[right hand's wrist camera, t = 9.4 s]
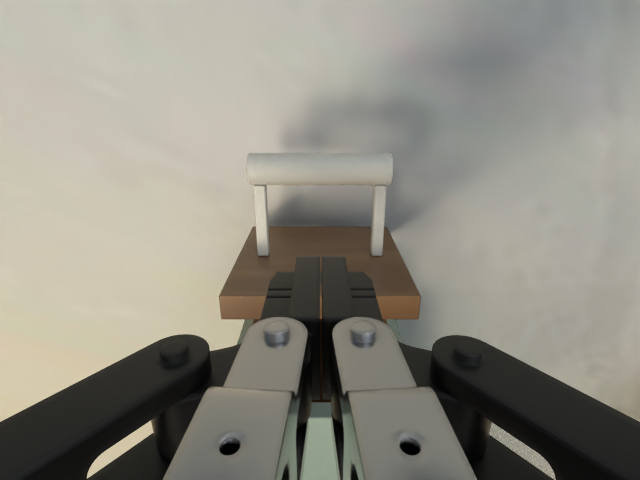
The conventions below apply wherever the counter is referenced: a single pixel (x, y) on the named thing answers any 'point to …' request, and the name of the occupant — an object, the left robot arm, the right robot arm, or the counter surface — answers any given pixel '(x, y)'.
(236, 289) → the drawer
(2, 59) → the counter surface
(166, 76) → the counter surface
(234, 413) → the right robot arm
